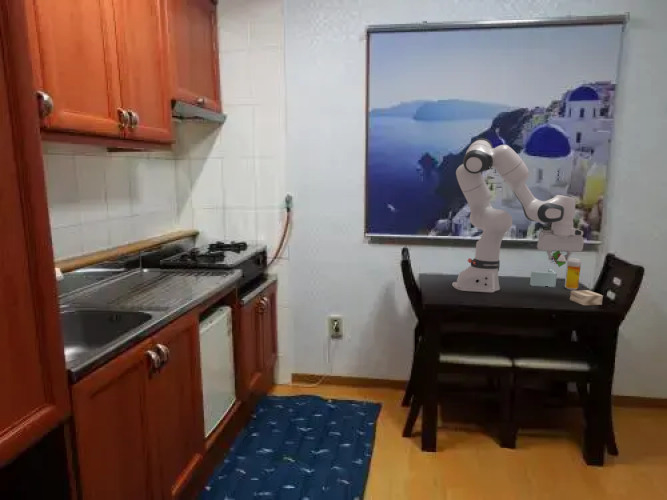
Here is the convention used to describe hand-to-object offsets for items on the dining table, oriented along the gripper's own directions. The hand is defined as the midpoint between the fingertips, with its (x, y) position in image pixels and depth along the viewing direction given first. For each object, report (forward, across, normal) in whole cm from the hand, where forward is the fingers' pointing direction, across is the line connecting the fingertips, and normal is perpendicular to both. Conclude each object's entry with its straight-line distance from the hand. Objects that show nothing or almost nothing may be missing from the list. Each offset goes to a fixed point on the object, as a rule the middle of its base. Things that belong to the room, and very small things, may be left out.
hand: (558, 260), depth 220 cm
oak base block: (+17, +9, -10) cm, 22 cm away
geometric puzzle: (+2, +1, 0) cm, 3 cm away
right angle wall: (+18, +5, +24) cm, 30 cm away
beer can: (+17, +16, +14) cm, 27 cm away
